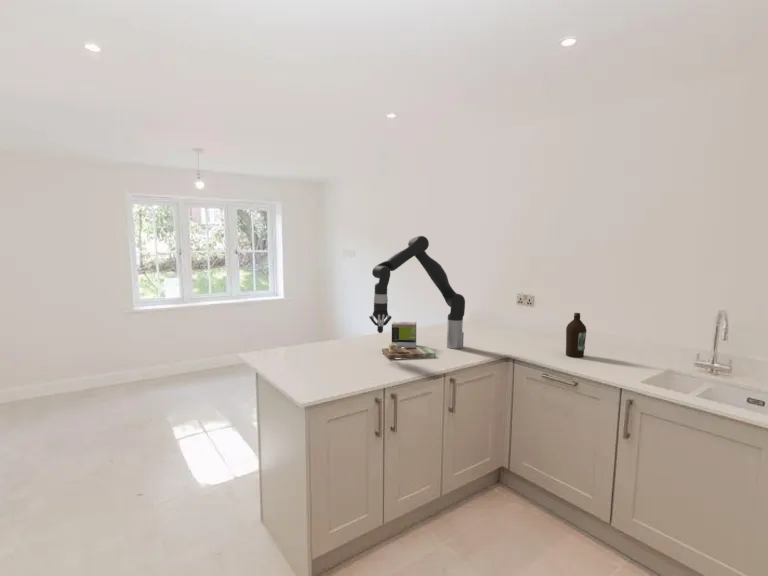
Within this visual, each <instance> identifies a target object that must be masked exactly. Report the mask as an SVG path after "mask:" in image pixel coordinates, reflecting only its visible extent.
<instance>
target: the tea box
mask: <svg viewBox="0 0 768 576" xmlns="http://www.w3.org/2000/svg"><path fill="white" fill-rule="evenodd" d="M395 343H396V344H397V348H398V347H417V321H392V323H391V344H395Z"/></svg>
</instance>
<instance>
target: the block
mask: <svg viewBox="0 0 768 576" xmlns="http://www.w3.org/2000/svg"><path fill="white" fill-rule="evenodd" d="M388 348H389V352H397V348H398V347H397V344H396V343H395V344H392V343H388Z"/></svg>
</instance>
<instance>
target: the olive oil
mask: <svg viewBox="0 0 768 576" xmlns="http://www.w3.org/2000/svg"><path fill="white" fill-rule="evenodd" d="M565 329H566V330H565V355H566V356H567V357H570V358H575V359H582V358H584V355H585V349H586V348H585V347H586V337H587V326H586V325H585V324H584V322H583V321H582V320H581V313H580V312H574V314H573V319H572V320H571V321H569V323H567V325H566V328H565Z"/></svg>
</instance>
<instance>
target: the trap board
mask: <svg viewBox="0 0 768 576" xmlns="http://www.w3.org/2000/svg"><path fill="white" fill-rule="evenodd" d="M382 352H383V353H384V354H385V355H386V357H387V358H388V359H393V360H396V359H395V358H412V359H421V358H420V357H431V358H436V352H434V350H432V349H431V348H429V347H428V346H416V347H404V348H398V347H397V352H389V347H387V348H382V349H381V353H382ZM383 353H382V354H383ZM384 354H383V355H384ZM385 355H384V356H385ZM386 357H385V358H386ZM387 358H386V359H387ZM388 359H387V360H388Z"/></svg>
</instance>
